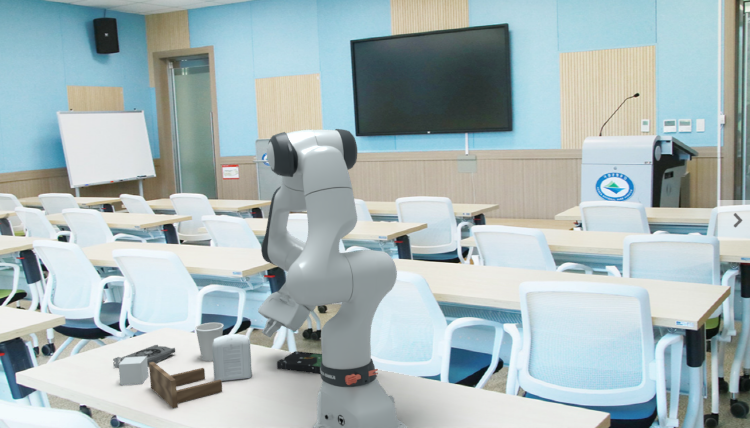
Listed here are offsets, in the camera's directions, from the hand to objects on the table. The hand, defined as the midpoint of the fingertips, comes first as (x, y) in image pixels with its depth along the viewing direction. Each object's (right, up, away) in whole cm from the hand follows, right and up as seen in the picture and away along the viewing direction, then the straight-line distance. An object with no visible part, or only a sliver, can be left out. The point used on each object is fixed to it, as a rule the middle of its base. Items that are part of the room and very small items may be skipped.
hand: (265, 334), depth 189 cm
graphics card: (-37, -11, +12) cm, 41 cm away
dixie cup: (-19, -10, +13) cm, 25 cm away
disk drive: (+12, -10, +3) cm, 16 cm away
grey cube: (-36, -12, -4) cm, 38 cm away
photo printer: (-8, -11, -5) cm, 15 cm away
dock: (-18, -12, -13) cm, 26 cm away
